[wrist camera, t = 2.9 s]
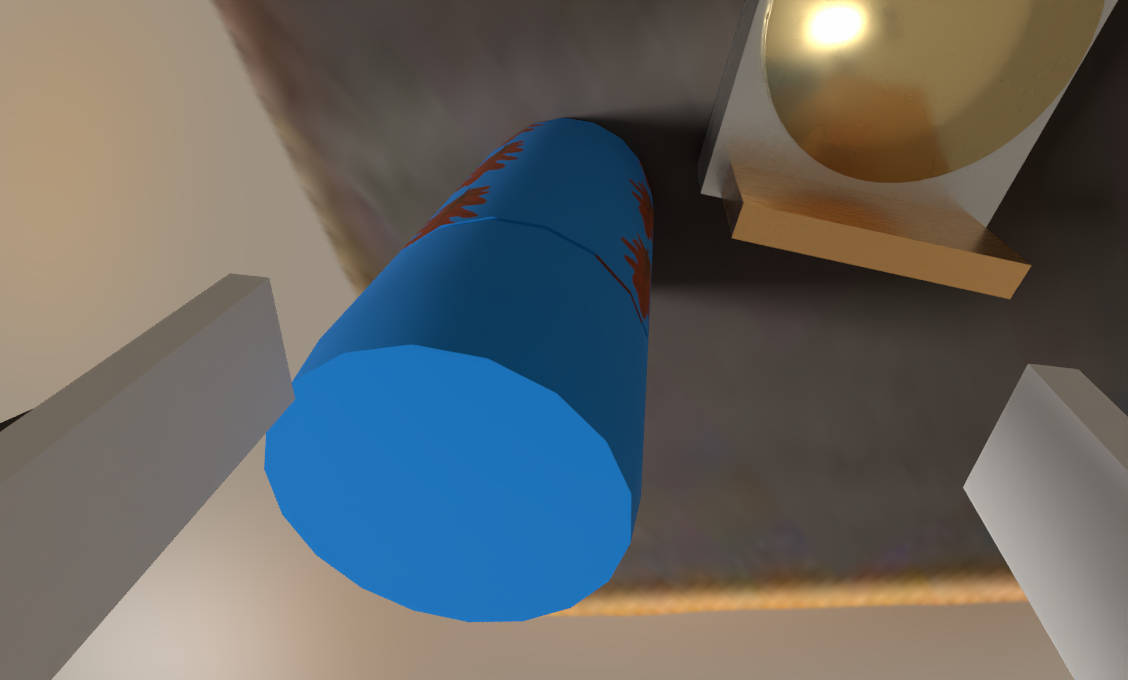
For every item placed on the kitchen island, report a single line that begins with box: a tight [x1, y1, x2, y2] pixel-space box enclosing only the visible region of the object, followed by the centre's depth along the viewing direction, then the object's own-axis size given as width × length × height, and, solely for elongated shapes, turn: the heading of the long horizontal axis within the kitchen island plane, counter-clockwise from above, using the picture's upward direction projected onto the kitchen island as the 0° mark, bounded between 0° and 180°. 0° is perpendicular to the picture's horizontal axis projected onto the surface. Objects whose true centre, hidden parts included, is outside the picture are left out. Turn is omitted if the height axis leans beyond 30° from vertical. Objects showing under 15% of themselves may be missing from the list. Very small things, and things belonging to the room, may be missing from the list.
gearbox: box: [697, 0, 1118, 299], centre depth 26 cm, size 14×18×11 cm
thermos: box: [264, 118, 654, 622], centre depth 28 cm, size 11×11×25 cm
